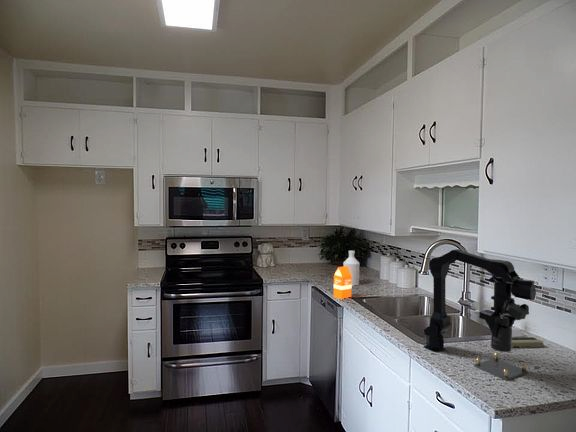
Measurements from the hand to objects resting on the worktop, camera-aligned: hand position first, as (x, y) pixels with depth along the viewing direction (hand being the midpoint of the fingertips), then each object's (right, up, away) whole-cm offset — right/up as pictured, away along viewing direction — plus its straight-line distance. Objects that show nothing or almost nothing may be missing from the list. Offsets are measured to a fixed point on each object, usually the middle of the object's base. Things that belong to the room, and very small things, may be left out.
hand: (501, 335), depth 145 cm
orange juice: (-45, -8, +105) cm, 114 cm away
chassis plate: (0, -13, +1) cm, 13 cm away
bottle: (-33, -6, +142) cm, 146 cm away
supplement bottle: (0, -5, 0) cm, 5 cm away
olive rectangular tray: (+23, -13, +26) cm, 37 cm away
